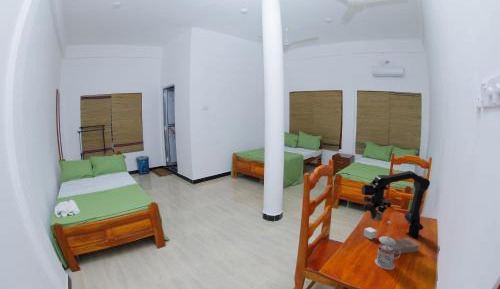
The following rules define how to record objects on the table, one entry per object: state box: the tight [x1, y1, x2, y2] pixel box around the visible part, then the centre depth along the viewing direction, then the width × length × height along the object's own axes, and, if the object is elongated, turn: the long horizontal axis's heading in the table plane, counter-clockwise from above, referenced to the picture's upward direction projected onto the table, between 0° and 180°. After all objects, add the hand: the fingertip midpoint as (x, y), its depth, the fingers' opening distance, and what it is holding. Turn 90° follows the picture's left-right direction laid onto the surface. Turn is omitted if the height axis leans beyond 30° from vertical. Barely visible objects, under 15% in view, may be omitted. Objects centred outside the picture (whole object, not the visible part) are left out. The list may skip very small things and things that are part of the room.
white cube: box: [363, 226, 377, 240], centre depth 168 cm, size 5×5×5 cm
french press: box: [374, 220, 402, 270], centre depth 139 cm, size 10×12×25 cm
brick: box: [391, 237, 420, 255], centre depth 155 cm, size 17×8×5 cm, turn 100°
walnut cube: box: [369, 210, 384, 223], centre depth 169 cm, size 5×5×5 cm
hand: (376, 217), depth 170 cm, fingers closed on walnut cube, 5 cm apart
